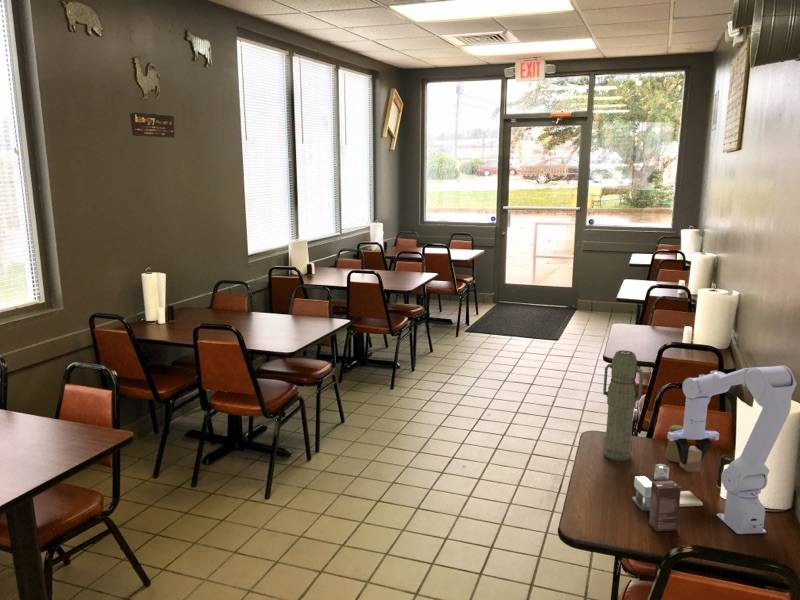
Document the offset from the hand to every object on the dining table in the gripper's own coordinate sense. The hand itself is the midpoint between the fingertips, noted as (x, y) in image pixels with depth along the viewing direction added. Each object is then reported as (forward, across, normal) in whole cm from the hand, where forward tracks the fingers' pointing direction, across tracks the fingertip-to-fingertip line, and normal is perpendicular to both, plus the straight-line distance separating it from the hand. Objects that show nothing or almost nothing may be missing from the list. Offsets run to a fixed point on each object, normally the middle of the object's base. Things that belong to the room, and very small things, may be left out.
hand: (690, 462), depth 186 cm
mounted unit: (+8, +18, +8) cm, 21 cm away
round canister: (+8, +5, -7) cm, 12 cm away
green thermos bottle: (+8, +11, -24) cm, 28 cm away
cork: (+8, -7, -21) cm, 24 cm away
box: (+9, +18, +20) cm, 28 cm away
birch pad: (+8, +4, +6) cm, 11 cm away
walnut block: (+2, 0, 0) cm, 2 cm away
